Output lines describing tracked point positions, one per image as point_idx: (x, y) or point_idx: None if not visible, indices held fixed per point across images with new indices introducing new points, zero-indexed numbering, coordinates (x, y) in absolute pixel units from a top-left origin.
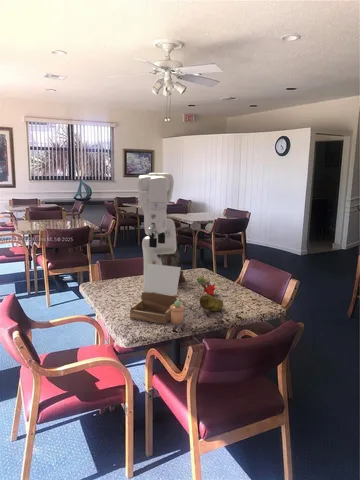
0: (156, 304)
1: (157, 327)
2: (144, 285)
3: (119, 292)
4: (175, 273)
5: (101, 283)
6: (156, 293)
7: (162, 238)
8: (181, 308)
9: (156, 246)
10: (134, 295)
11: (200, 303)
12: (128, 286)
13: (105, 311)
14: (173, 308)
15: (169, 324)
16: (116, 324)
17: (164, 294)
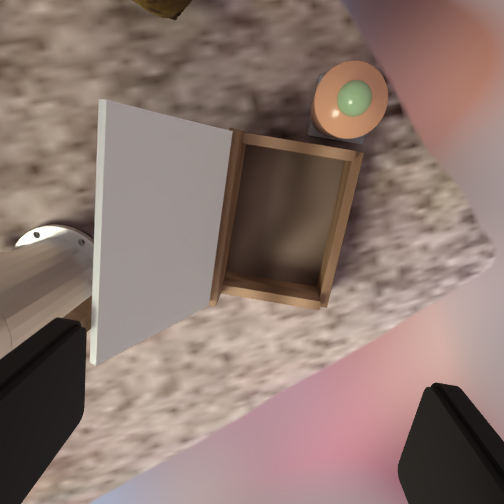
0: (231, 223)
1: (382, 180)
2: (193, 309)
3: None
4: (146, 142)
5: None
6: (78, 255)
7: (31, 409)
8: (374, 73)
9: (451, 390)
10: None
11: (182, 8)
12: None
13: (273, 385)
14: (379, 115)
15: (363, 137)
16: (376, 322)
17: (46, 225)
